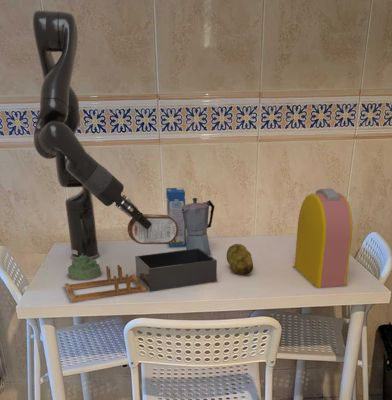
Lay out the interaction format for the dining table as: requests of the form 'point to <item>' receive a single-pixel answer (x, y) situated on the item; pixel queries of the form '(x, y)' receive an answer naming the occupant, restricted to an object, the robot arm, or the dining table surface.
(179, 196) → the milk carton
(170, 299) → the dining table surface
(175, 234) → the tin
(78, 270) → the decorative artifact
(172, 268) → the dark grey open box
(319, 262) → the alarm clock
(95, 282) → the dish rack
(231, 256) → the olive green oval lump
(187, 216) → the moka pot
